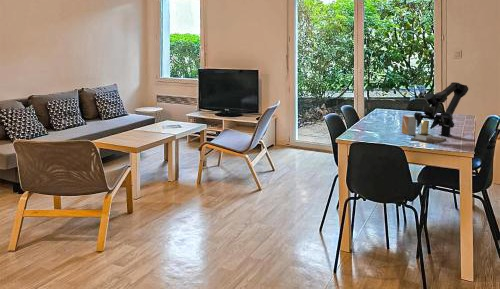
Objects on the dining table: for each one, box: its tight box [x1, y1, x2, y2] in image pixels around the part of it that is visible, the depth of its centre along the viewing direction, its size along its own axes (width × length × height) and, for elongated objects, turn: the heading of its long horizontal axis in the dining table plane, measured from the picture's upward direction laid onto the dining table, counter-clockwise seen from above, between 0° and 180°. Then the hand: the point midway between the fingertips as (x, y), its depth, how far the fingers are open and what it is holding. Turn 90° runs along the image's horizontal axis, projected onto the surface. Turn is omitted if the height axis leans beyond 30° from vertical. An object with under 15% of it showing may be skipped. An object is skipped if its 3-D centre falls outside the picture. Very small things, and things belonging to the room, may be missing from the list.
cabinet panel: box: [410, 136, 447, 144], centre depth 299 cm, size 16×16×1 cm
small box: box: [401, 114, 417, 136], centre depth 319 cm, size 8×6×13 cm
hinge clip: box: [415, 132, 434, 141], centre depth 297 cm, size 8×8×3 cm
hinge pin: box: [420, 119, 430, 136], centre depth 296 cm, size 4×4×12 cm
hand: (423, 127), depth 295 cm, fingers open, 9 cm apart
